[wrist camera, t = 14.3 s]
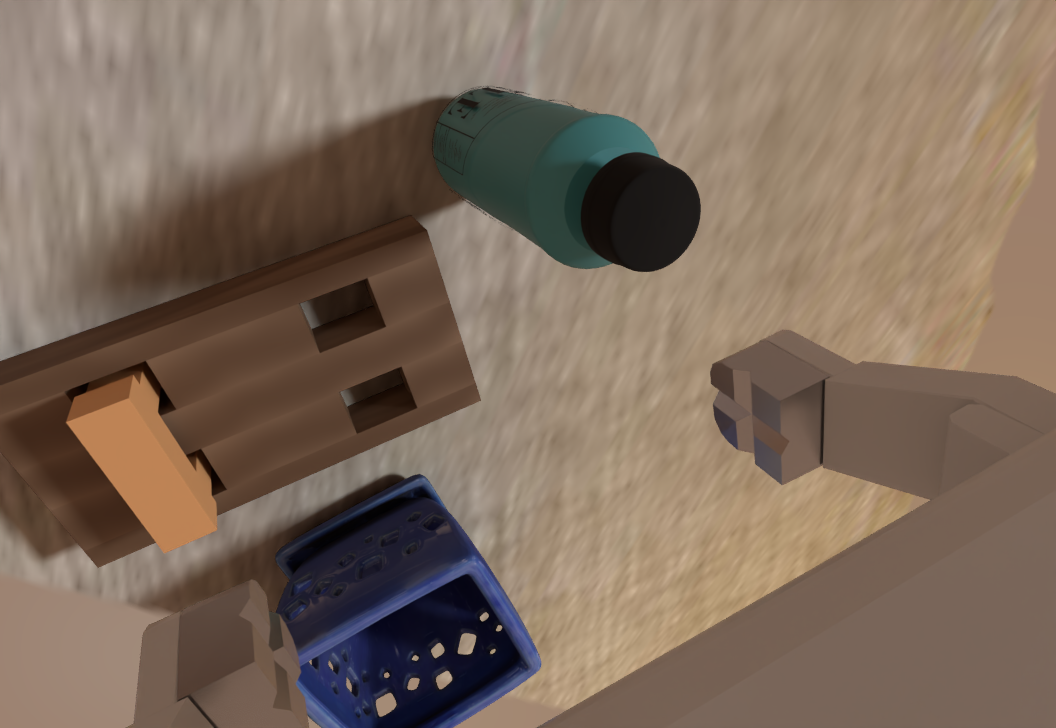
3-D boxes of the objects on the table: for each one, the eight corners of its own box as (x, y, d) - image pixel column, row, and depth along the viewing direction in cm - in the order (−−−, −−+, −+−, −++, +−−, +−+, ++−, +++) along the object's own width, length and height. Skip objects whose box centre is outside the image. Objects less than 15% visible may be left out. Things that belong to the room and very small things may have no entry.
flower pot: (341, 643, 53) (372, 785, 43) (249, 537, 45) (262, 680, 36) (488, 554, 55) (549, 670, 45) (423, 440, 48) (480, 549, 38)
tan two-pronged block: (215, 460, 42) (217, 529, 36) (169, 479, 41) (164, 553, 36) (140, 339, 37) (128, 398, 31) (87, 358, 36) (66, 422, 31)
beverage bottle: (471, 217, 42) (643, 345, 26) (396, 137, 38) (541, 228, 22) (544, 141, 42) (764, 222, 25) (476, 53, 38) (683, 82, 21)
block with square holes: (-23, 369, 35) (-43, 401, 32) (411, 215, 40) (426, 230, 37) (105, 529, 41) (98, 567, 38) (464, 376, 47) (481, 400, 44)
